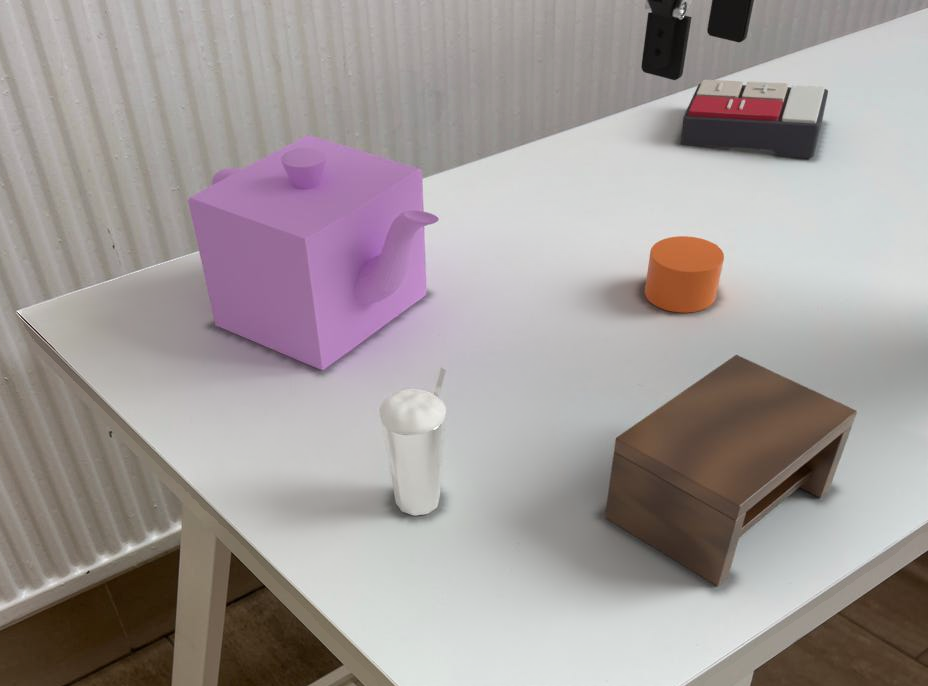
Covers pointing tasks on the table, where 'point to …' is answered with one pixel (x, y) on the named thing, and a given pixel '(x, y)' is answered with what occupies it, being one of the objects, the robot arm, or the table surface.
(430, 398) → the milkshake
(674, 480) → the brown wooden step stool
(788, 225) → the table surface
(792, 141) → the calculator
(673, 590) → the table surface
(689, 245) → the orange cylinder puck
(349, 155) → the teapot
